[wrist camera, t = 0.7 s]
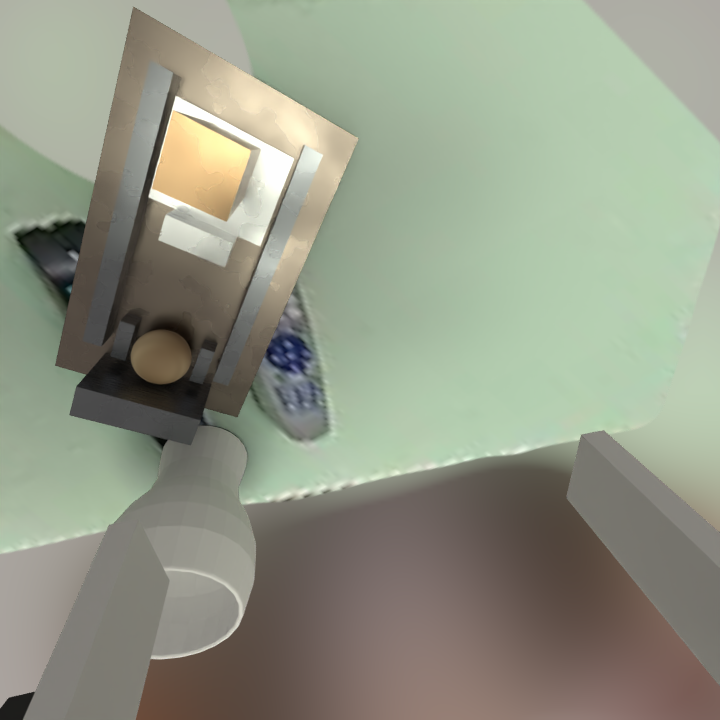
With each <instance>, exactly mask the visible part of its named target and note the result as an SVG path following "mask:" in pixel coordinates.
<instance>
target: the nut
mask: <svg viewBox="0 0 720 720" xmlns="http://www.w3.org/2000/svg"><path fill="white" fill-rule="evenodd" d="M191 359H192V355H191V350H190V347H189V345H188V343H187V342H186V340H185V339H184V338H183V337H181V336H180V335H179V334H177V333H175V332H172V331H169V330H153V331H150V332H147V333H145V334H144V335H142V336H141V337H140V338H139V339H138V340H137V341H136V342H135V344H134V345H133V348H132V351H131V363H132V366H133V368H134V370H135V372H136V373H137V374H138V375H139V376H140V377H141V378H143V379H144V380H146V381H148V382H151V383H155V384H168V383H172V382H174V381H177V380H178V379H180V378H181V377H182V376H184V374H185V373H186V372H187V371H188V369H189V367H190V364H191Z"/></svg>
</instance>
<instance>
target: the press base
mask: <svg viewBox="0 0 720 720" xmlns="http://www.w3.org/2000/svg"><path fill="white" fill-rule="evenodd" d="M176 96H177V97H180V98H182V99H184V100H185V101H187V102H189V103H191V104H193V105H195V106H197V107H199V108H200V109H202V110H204V111H206V112H208V113H210V114H212V115H214V116H215V117H217V118H219V119H221V120H223V121H225V122H227V123H229V124H230V125H232V126H234V127H236V128H238V129H240V130H242V131H244V132H245V133H247V134H249V135H251V136H253V137H255V138H257V139H259V140H260V141H262V142H264V143H266V144H268V145H270V146H272V147H274V148H275V149H277V150H279V151H281V152H283V153H285V154H287V155H289V156H291V157H292V158H294V160H293V163H292V165H291V168H290V170H289V173H288V176H287V178H286V181H285V183H284V186H283V189H282V191H281V194H280V196H279V199H278V201H277V204H276V207H275V209H274V212H273V214H272V217H271V220H270V222H269V225H268V227H267V230H266V233H265V235H264V238H263V240H262V243H261V245H260V246H258V245H256V244H253V243H251V242H249V241H247V240H244V239H242V238H240V237H238V236H237V239H236V242H235V245H234V247H233V250H232V253H231V255H230V257H229V260H228V262H227V264H226V266H225V267H223V266H220V265H218V264H215V263H213V262H211V261H208V260H206V259H203V258H201V257H198V256H196V255H193V254H191V253H189V252H186V251H184V250H181V249H179V248H176V247H174V246H171V245H169V244H167V243H164V242H162V241H159V240H158V239H159V236H160V232H161V229H162V225H163V222H164V219H165V215H166V214H168V213H169V212H171V211H173V210H174V208H172V207H169V206H167V205H165V204H162V203H160V202H158V201H156V200H153V199H151V198H149V194H150V190H151V186H152V182H153V179H154V175H155V171H156V168H157V164H158V160H159V156H160V153H161V149H162V145H163V142H164V138H165V134H166V130H167V127H168V123H169V119H170V115H171V112H172V108H173V104H174V101H175V97H176ZM358 139H359V138H357V137H355V136H354V135H352V134H350V133H349V132H347V131H345V130H343V129H342V128H340V127H338V126H337V125H335V124H333V123H331V122H330V121H328V120H326V119H325V118H323V117H321V116H319V115H318V114H316V113H314V112H313V111H311V110H309V109H308V108H306V107H304V106H302V105H301V104H299V103H297V102H296V101H294V100H292V99H290V98H289V97H287V96H285V95H284V94H282V93H280V92H278V91H277V90H275V89H273V88H272V87H270V86H268V85H266V84H265V83H263V82H261V81H260V80H258V79H256V78H255V77H253V76H251V75H249V74H248V73H246V72H244V71H243V70H241V69H239V68H237V67H236V66H234V65H232V64H230V63H229V62H227V61H225V60H224V59H222V58H220V57H219V56H217V55H215V54H213V53H211V52H210V51H208V50H207V49H205V48H203V47H202V46H200V45H198V44H196V43H194V42H193V41H191V40H189V39H188V38H186V37H184V36H183V35H181V34H179V33H178V32H176V31H174V30H172V29H171V28H169V27H167V26H166V25H164V24H162V23H160V22H159V21H157V20H155V19H154V18H152V17H150V16H149V15H147V14H145V13H143V12H141V11H140V10H138V9H137V8H135V7H133V11H132V15H131V19H130V25H129V29H128V34H127V38H126V43H125V47H124V52H123V57H122V61H121V66H120V70H119V75H118V79H117V84H116V88H115V93H114V98H113V102H112V107H111V111H110V116H109V121H108V125H107V130H106V135H105V139H104V144H103V148H102V153H101V157H100V162H99V167H98V171H97V176H96V180H95V185H94V189H93V194H92V199H91V203H90V208H89V212H88V217H87V222H86V226H85V231H84V235H83V240H82V245H81V249H80V254H79V258H78V263H77V268H76V272H75V277H74V281H73V286H72V291H71V295H70V300H69V304H68V309H67V314H66V318H65V323H64V327H63V332H62V336H61V341H60V346H59V350H58V355H57V359H56V364H55V366H59V367H62V368H66V369H69V370H73V371H76V372H80V373H83V374H87V375H86V376H85V377H84V378H83V380H82V381H81V382H80V383H79V384H78V385H77V387H76V391H75V395H74V399H73V403H72V407H71V411H70V415H71V416H75V417H79V418H83V419H87V420H91V421H95V422H99V423H103V424H107V425H111V426H115V427H119V428H123V429H127V430H131V431H135V432H139V433H143V434H147V435H151V436H155V437H159V438H163V439H167V440H171V441H175V442H179V443H183V444H187V445H191V444H192V441H193V439H194V436H195V434H196V431H197V429H198V426H199V424H200V421H201V418H202V415H203V411H204V408H206V409H210V410H213V411H217V412H220V413H224V414H227V415H231V416H234V417H238V414H239V412H240V410H241V408H242V405H243V403H244V401H245V398H246V396H247V394H248V391H249V389H250V387H251V385H252V382H253V380H254V378H255V375H256V373H257V371H258V369H259V366H260V364H261V362H262V359H263V357H264V355H265V352H266V350H267V348H268V346H269V343H270V341H271V339H272V336H273V334H274V332H275V330H276V327H277V325H278V323H279V320H280V318H281V316H282V313H283V311H284V309H285V307H286V304H287V302H288V300H289V297H290V295H291V293H292V291H293V288H294V286H295V284H296V281H297V279H298V277H299V274H300V272H301V270H302V268H303V265H304V263H305V261H306V258H307V256H308V254H309V251H310V249H311V247H312V245H313V242H314V240H315V238H316V235H317V233H318V231H319V229H320V226H321V224H322V222H323V219H324V217H325V215H326V212H327V210H328V208H329V206H330V203H331V201H332V199H333V196H334V194H335V192H336V190H337V187H338V185H339V183H340V180H341V178H342V176H343V173H344V171H345V169H346V167H347V164H348V162H349V160H350V157H351V155H352V153H353V151H354V148H355V146H356V144H357V141H358ZM153 330H169V331H172V332H175V333H177V334H179V335H180V336H181V337H183V338H184V339H185V340H186V342H187V343H188V345H189V347H190V350H191V355H192V359H191V364H190V367H189V369H188V371H187V372H186V373H185V374H184V376H182V377H181V378H180V379H178V380H177V381H174V382H172V383H168V384H155V383H151V382H148V381H146V380H144V379H143V378H141V377H140V376H139V375H138V374H137V373H136V372H135V370H134V368H133V366H132V363H131V351H132V348H133V345H134V344H135V342H136V341H137V340H138V339H139V338H140V337H141V336H142V335H144V334H145V333H147V332H150V331H153Z"/></svg>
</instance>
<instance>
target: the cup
mask: <svg viewBox="0 0 720 720" xmlns="http://www.w3.org/2000/svg"><path fill="white" fill-rule="evenodd" d="M246 464H247V452H246V449H245V446H244V445H243V444H242V442H241V441H240V440H239V438H237V437H236V436H235V435H233V434H232V433H231V432H228V431H226V430H224V429H222V428H218V427H213V426H198V429H197V431H196V434H195V436H194V439H193V441H192V444H191V445H187V444H183V443H179V442H175V441H171V440H168V441H167V442H166V443H165V445H164V447H163V450H162V454H161V459H160V464H159V471H158V478H157V480H156V482H155V483H154V485H153V487H152V488H151V490H149V491H148V492H147V493H145V494H144V495H142V496H141V497H140V498H139V499H137V500H136V501H135V502H133V503H132V504H131V505H130V506H129V507H128V508H127V509H126V510H125V512H124V513H123V514H122V515H121V516H120V517H119V518H118V519H117V520H116V522H115V523H114V524H116V523H122V522H127V521H132V520H137V519H139V521H140V523H141V525H142V527H143V529H144V531H145V533H146V535H147V537H148V539H149V541H150V543H151V545H152V547H153V549H154V551H155V553H156V555H157V557H158V559H159V561H160V562H161V564H162V566H163V568H164V570H165V572H166V574H167V576H168V578H169V580H170V582H169V586H168V590H167V594H166V598H165V602H164V606H163V610H162V614H161V618H160V622H159V626H158V630H157V635H156V639H155V643H154V647H153V651H152V655H151V659H168V658H178V657H184V656H188V655H192V654H196V653H200V652H202V651H204V650H207V649H209V648H212V647H214V646H216V645H217V644H219V643H220V642H222V641H223V640H225V639H227V638H228V637H229V636H230V635H231V634H232V633H233V632H234V631H235V629H236V628H237V627H238V626H239V624H240V621H241V619H242V617H243V615H244V611H245V608H246V605H247V602H248V599H249V596H250V592H251V589H252V586H253V583H254V575H255V559H256V542H255V539H254V535H253V532H252V528H251V524H250V521H249V518H248V516H247V513H246V511H245V509H244V508H243V506H242V504H241V503H240V501H239V490H238V488H239V485H240V482H241V480H242V477H243V474H244V471H245V468H246ZM99 547H100V546H99ZM97 551H98V550H97ZM95 556H96V555H95ZM94 558H95V557H94ZM93 560H94V559H93ZM92 562H93V561H92ZM91 565H92V563H91ZM90 567H91V566H90Z"/></svg>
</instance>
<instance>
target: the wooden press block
mask: <svg viewBox="0 0 720 720" xmlns="http://www.w3.org/2000/svg"><path fill="white" fill-rule="evenodd" d="M293 160H294V158H292V157H291V156H289V155H287V154H285V153H283V152H281V151H279V150H277V149H275V148H274V147H272V146H270V145H268V144H266V143H264V142H262V141H260V140H259V139H257V138H255V137H253V136H251V135H249V134H247V133H245V132H244V131H242V130H240V129H238V128H236V127H234V126H232V125H230V124H229V123H227V122H225V121H223V120H221V119H219V118H217V117H215V116H214V115H212V114H210V113H208V112H206V111H204V110H202V109H200V108H199V107H197V106H195V105H193V104H191V103H189V102H187V101H185V100H184V99H182V98H180V97H177V96H176V97H175V101H174V104H173V108H172V112H171V115H170V119H169V123H168V127H167V130H166V134H165V138H164V142H163V145H162V149H161V153H160V156H159V160H158V164H157V168H156V171H155V175H154V179H153V182H152V186H151V190H150V194H149V198H151V199H153V200H156V201H158V202H160V203H162V204H165V205H167V206H169V207H172V208H174V210H173V211H171V212H169V213H168V214H166V215H165V219H164V222H163V225H162V229H161V232H160V236H159V239H158V240H159V241H162V242H164V243H167V244H169V245H171V246H174V247H176V248H179V249H181V250H184V251H186V252H189V253H191V254H193V255H196V256H198V257H201V258H203V259H206V260H208V261H211V262H213V263H215V264H218V265H220V266H223V267H225V266H226V264H227V262H228V260H229V257H230V255H231V253H232V250H233V247H234V245H235V242H236V239H237V236H238V237H240V238H242V239H244V240H247V241H249V242H251V243H253V244H256V245H258V246H260V245H261V243H262V240H263V238H264V235H265V233H266V230H267V227H268V225H269V222H270V220H271V217H272V214H273V212H274V209H275V207H276V204H277V201H278V199H279V196H280V194H281V191H282V189H283V186H284V183H285V181H286V178H287V176H288V173H289V170H290V168H291V165H292V163H293Z"/></svg>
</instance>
